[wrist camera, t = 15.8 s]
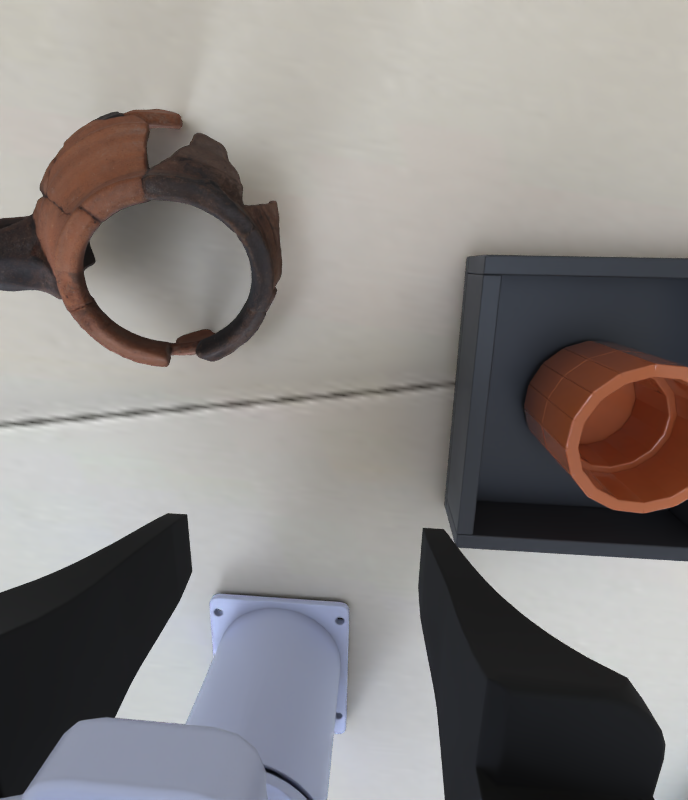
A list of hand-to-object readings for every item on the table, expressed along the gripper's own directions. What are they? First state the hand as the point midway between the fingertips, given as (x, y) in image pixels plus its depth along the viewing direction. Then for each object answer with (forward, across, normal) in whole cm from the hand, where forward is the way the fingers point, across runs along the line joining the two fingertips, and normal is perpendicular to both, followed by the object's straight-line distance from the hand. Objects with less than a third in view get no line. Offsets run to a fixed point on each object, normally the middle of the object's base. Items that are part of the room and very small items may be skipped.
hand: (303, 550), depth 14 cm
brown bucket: (+9, -12, -2) cm, 15 cm away
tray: (+10, -12, -2) cm, 15 cm away
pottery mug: (+10, +8, -9) cm, 16 cm away
